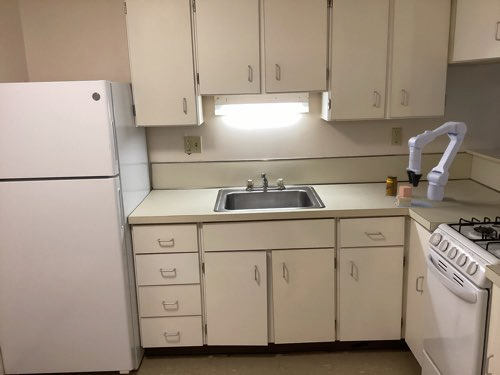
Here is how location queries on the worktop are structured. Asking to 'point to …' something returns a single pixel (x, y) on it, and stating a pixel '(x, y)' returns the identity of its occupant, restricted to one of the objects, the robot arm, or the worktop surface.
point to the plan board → (416, 204)
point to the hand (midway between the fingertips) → (413, 185)
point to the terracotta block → (405, 191)
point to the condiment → (391, 186)
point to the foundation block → (403, 200)
